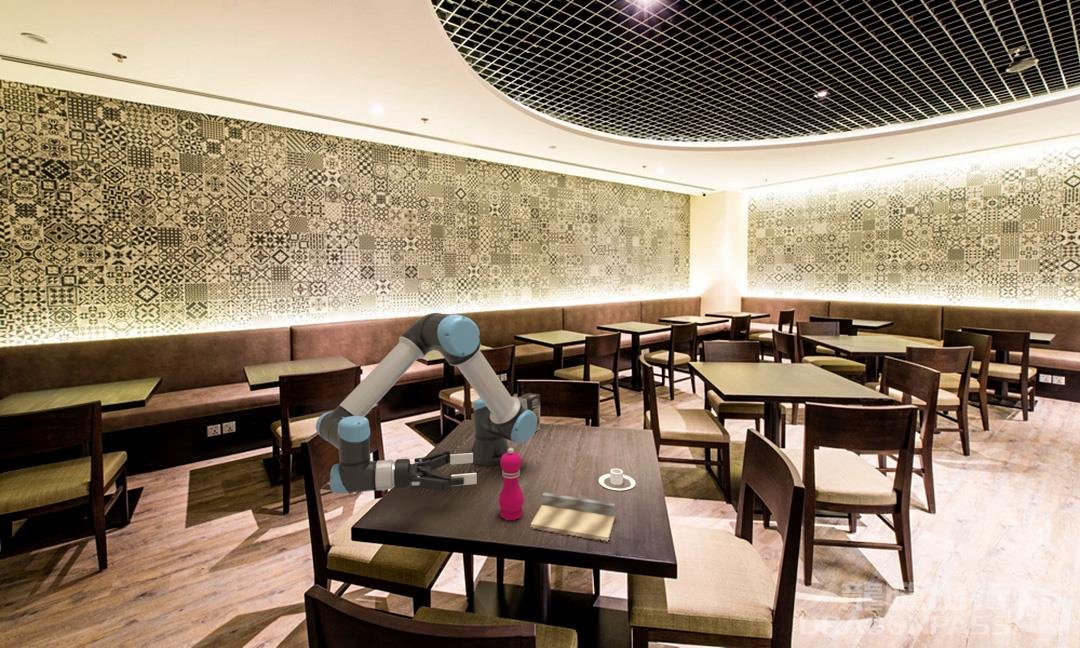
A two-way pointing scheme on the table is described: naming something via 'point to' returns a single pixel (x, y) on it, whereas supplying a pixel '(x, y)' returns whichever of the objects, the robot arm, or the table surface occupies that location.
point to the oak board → (575, 516)
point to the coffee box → (532, 405)
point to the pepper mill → (511, 486)
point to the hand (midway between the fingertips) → (474, 467)
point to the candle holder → (616, 479)
